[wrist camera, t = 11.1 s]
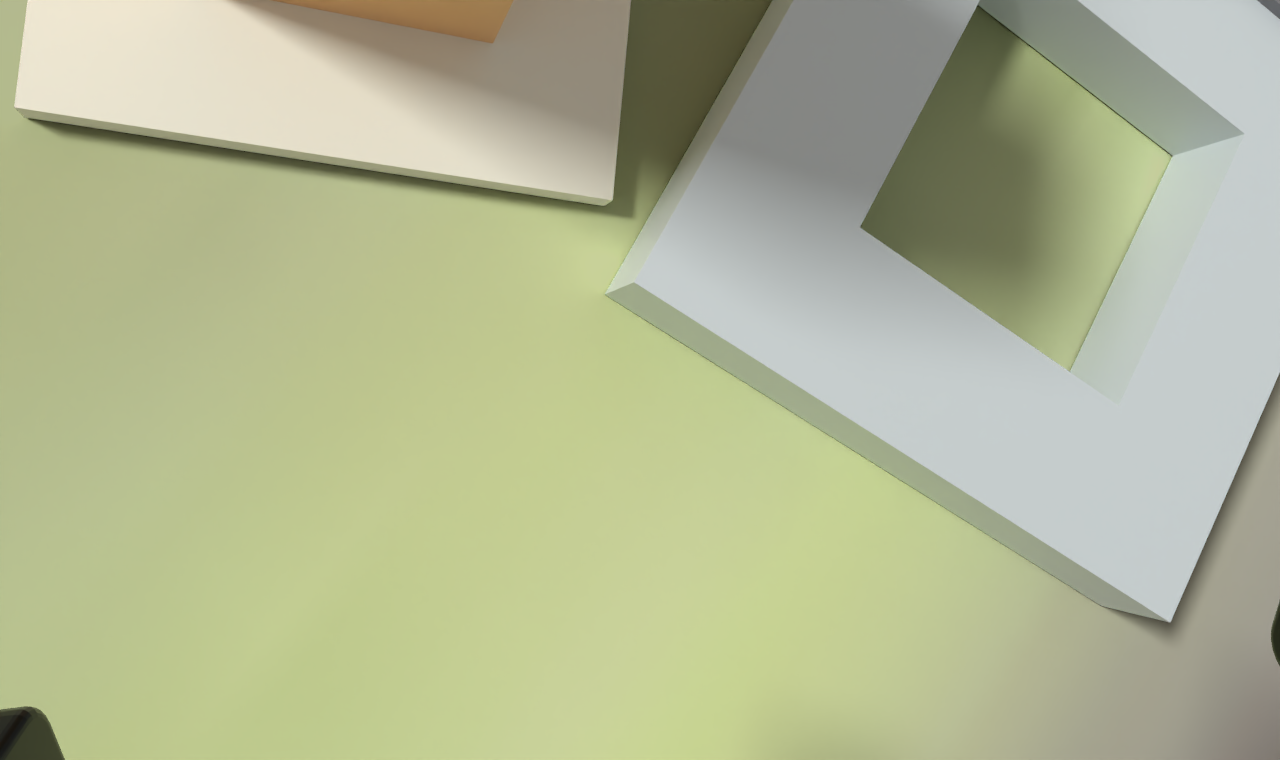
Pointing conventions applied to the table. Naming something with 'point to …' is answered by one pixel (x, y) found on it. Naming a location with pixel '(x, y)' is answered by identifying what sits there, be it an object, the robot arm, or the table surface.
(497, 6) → the module
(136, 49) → the pad
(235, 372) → the table surface
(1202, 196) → the dock
